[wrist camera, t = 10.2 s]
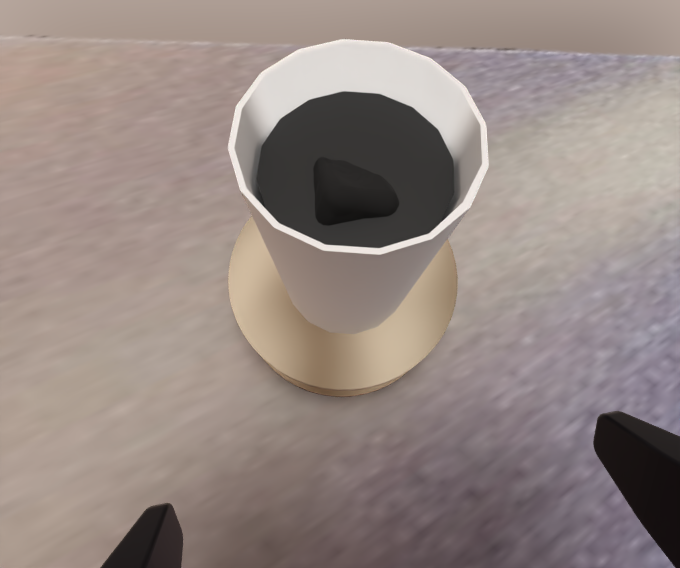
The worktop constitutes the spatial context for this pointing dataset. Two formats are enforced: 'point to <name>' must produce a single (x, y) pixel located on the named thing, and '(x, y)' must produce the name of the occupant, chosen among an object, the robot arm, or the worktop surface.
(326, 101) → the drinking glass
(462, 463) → the worktop surface
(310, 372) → the birch stand
